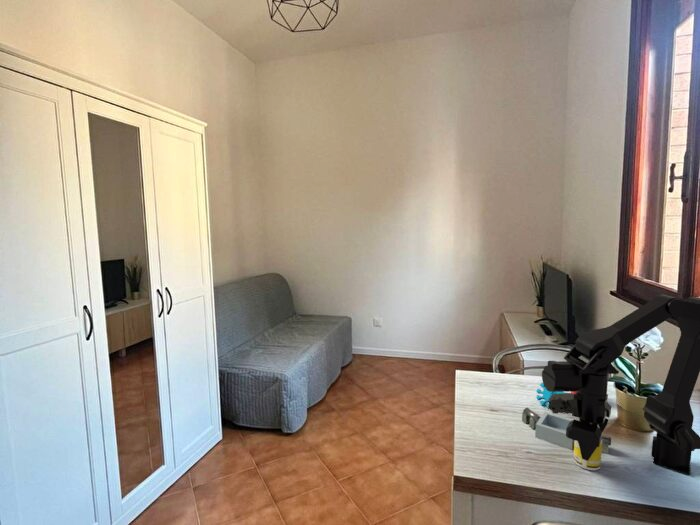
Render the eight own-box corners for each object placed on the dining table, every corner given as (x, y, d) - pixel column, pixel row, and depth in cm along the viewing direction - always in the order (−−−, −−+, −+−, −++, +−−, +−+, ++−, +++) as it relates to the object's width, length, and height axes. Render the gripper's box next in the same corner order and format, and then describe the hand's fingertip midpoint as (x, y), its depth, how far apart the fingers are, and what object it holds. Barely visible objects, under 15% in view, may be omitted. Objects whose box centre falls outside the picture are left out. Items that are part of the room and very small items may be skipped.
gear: (528, 393, 120) (551, 371, 120) (537, 403, 122) (560, 381, 122) (553, 415, 110) (578, 391, 110) (563, 425, 112) (587, 402, 112)
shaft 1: (545, 429, 103) (545, 417, 102) (534, 430, 102) (535, 418, 102) (530, 418, 108) (531, 407, 108) (521, 420, 108) (521, 408, 107)
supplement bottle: (603, 463, 88) (606, 424, 87) (597, 474, 85) (600, 433, 84) (577, 453, 92) (579, 415, 91) (570, 463, 89) (572, 424, 87)
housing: (578, 434, 100) (579, 422, 100) (571, 449, 94) (572, 436, 93) (544, 423, 106) (544, 411, 105) (535, 437, 99) (535, 424, 99)
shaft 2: (609, 447, 95) (610, 434, 94) (610, 454, 92) (611, 440, 91) (576, 439, 98) (577, 426, 98) (576, 445, 95) (577, 432, 95)
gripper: (562, 368, 99) (558, 424, 100) (542, 394, 85) (538, 458, 86) (613, 380, 91) (608, 440, 93) (601, 410, 77) (596, 480, 79)
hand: (587, 453), depth 88 cm, fingers closed on supplement bottle, 5 cm apart
